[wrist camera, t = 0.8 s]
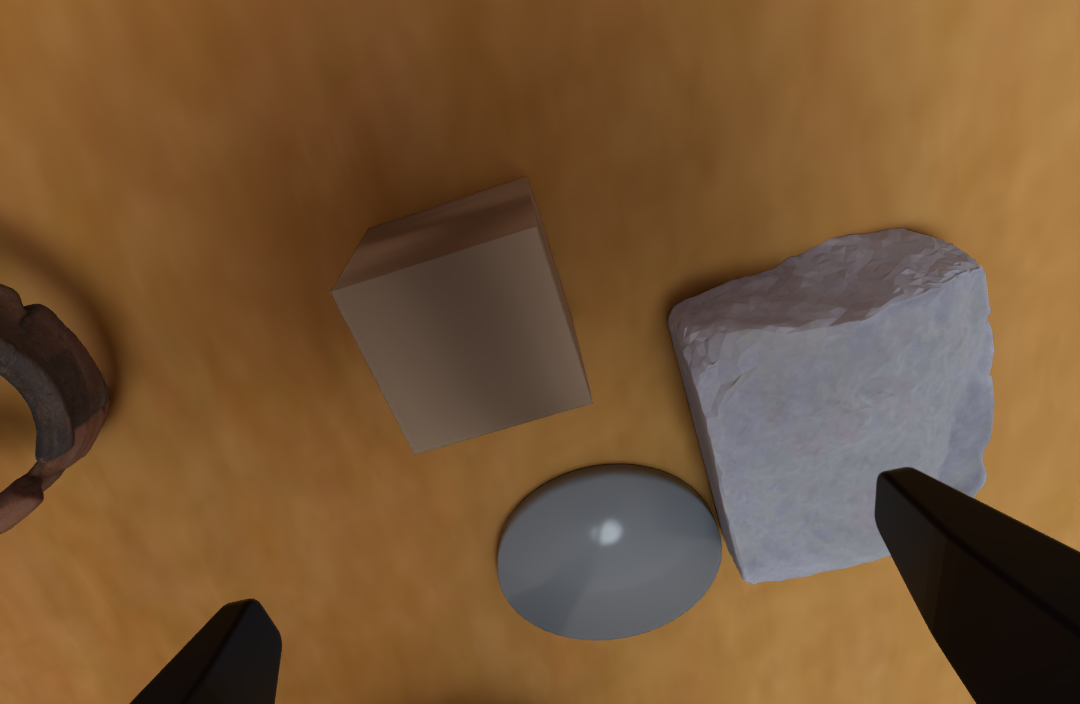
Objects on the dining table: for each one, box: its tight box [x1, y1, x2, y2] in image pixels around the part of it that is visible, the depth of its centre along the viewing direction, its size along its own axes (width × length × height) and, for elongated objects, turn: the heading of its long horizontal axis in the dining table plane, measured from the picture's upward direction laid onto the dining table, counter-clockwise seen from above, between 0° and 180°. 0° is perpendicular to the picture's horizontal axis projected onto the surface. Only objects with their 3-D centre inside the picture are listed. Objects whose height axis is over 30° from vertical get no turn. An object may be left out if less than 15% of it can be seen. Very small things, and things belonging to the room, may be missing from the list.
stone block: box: [668, 228, 994, 584], centre depth 22 cm, size 12×5×10 cm
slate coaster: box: [498, 464, 722, 640], centre depth 25 cm, size 9×9×1 cm
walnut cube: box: [331, 177, 593, 455], centre depth 18 cm, size 5×5×5 cm
